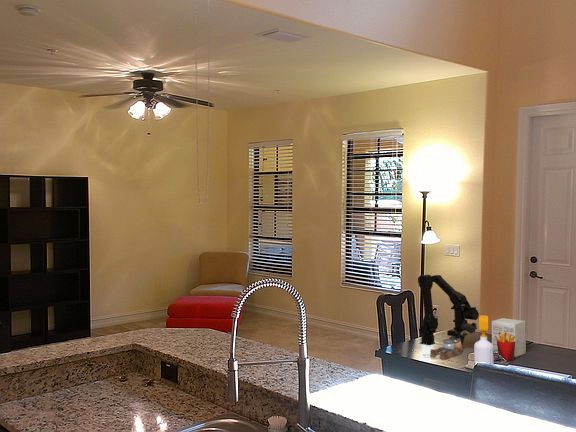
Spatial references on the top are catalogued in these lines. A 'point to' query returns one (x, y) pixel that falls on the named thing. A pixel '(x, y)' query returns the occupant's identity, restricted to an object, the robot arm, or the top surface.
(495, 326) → the supplement box
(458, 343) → the terracotta jar
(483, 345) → the soap bottle
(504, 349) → the french fries
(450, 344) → the slate jar
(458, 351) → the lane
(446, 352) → the pusher
